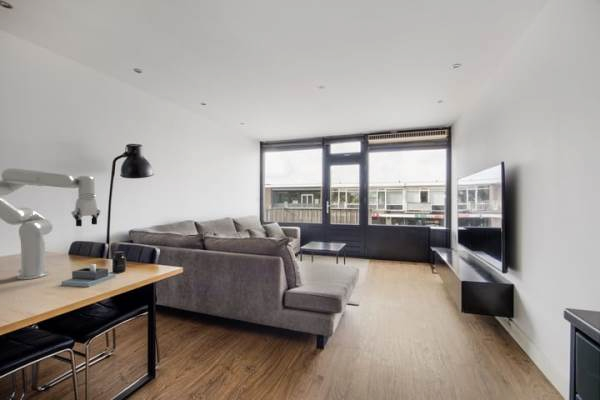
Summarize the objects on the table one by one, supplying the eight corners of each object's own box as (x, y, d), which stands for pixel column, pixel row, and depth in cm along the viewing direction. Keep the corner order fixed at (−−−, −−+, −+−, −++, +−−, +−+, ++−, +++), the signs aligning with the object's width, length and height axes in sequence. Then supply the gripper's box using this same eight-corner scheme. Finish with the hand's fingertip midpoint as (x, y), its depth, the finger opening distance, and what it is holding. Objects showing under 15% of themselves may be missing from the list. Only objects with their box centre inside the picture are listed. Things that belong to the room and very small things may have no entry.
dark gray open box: (72, 278, 139) (72, 271, 139) (85, 274, 147) (85, 267, 147) (95, 280, 137) (95, 272, 137) (108, 275, 145) (108, 268, 145)
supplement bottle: (118, 273, 156) (118, 253, 155) (109, 273, 157) (109, 253, 157) (128, 270, 162) (128, 251, 162) (119, 269, 164) (119, 250, 164)
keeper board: (61, 285, 135) (61, 267, 135) (90, 275, 151) (90, 260, 151) (88, 286, 133) (88, 269, 133) (115, 277, 149) (115, 261, 149)
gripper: (94, 196, 167) (94, 223, 167) (66, 196, 150) (66, 226, 150) (104, 196, 166) (105, 223, 166) (77, 196, 149) (78, 227, 149)
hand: (86, 225), depth 158 cm, fingers open, 9 cm apart
